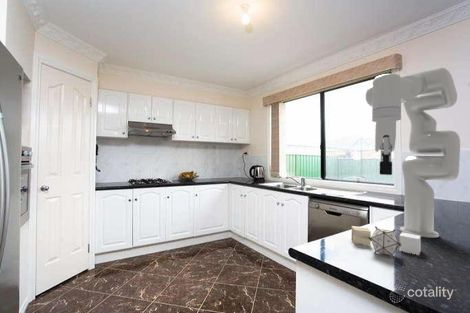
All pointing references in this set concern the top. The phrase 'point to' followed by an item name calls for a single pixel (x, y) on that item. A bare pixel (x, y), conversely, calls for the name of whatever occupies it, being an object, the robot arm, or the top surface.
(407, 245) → the white block
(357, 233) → the ash block
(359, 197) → the top surface
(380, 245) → the game die
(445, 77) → the robot arm
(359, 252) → the top surface
